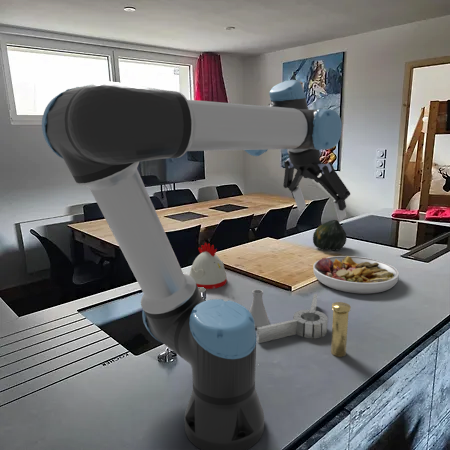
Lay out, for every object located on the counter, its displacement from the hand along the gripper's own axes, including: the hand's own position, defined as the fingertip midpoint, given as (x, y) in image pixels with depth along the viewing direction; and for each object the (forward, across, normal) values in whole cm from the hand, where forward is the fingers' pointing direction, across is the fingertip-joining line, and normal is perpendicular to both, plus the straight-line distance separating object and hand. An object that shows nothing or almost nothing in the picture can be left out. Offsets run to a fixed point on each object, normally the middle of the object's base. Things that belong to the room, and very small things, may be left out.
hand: (321, 213), depth 109 cm
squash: (+61, +42, -38) cm, 83 cm away
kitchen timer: (+28, +44, +22) cm, 57 cm away
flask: (+23, +9, +28) cm, 37 cm away
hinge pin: (+23, -16, +23) cm, 37 cm away
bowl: (+48, +11, -16) cm, 51 cm away
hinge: (+26, +1, +20) cm, 33 cm away
